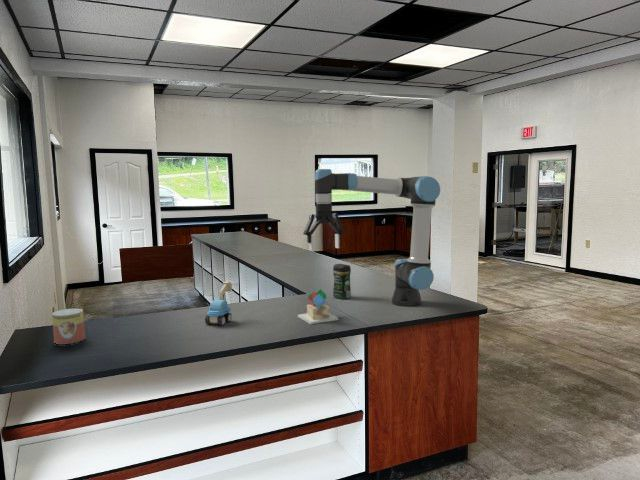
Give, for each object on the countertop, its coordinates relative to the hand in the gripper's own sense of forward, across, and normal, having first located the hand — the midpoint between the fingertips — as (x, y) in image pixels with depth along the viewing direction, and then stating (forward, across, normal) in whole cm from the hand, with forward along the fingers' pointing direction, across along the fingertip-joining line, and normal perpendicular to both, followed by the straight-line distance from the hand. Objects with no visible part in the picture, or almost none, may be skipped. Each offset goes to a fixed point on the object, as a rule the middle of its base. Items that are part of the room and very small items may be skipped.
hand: (324, 249), depth 222 cm
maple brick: (+31, +5, +2) cm, 31 cm away
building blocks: (+26, +4, +2) cm, 26 cm away
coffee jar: (+32, -25, -28) cm, 49 cm away
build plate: (+32, +5, +2) cm, 32 cm away
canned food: (+32, +107, -19) cm, 113 cm away
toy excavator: (+32, +45, -16) cm, 57 cm away
